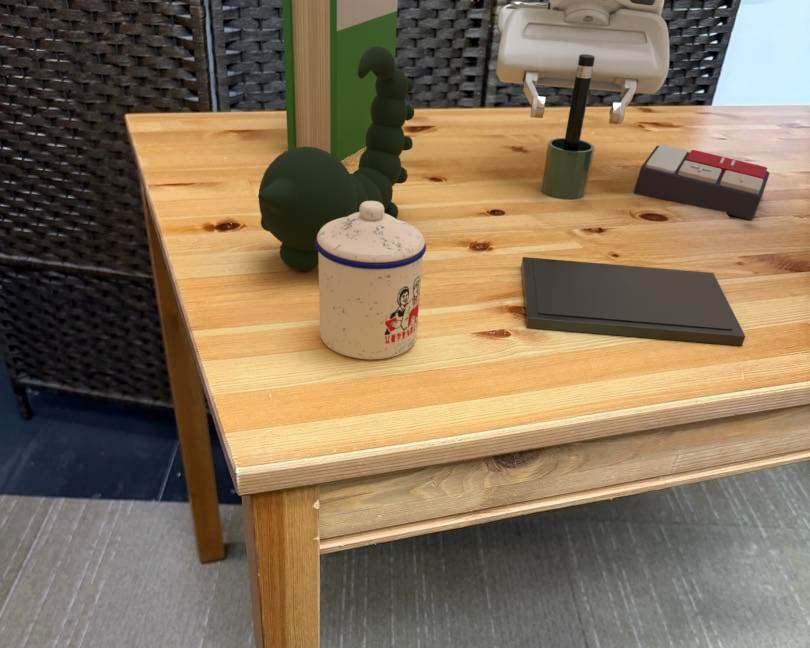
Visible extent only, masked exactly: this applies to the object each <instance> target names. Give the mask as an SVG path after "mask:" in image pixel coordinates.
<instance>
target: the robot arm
mask: <svg viewBox="0 0 810 648" xmlns="http://www.w3.org/2000/svg"><path fill="white" fill-rule="evenodd" d="M664 5H665V0H549V1H548V2H539V1H535V2H527V1H523V0H514V1H511V3H510V4H506V5H504V6H502V8H500V10H499V12H498V15H497V23H496V24H497V25H496V28H497V32H498V34H499V36H500V41H499V47H498V53H497V60H496V66H495V67H496V68H495V75H496V76H497V78H498V79H499V81H500V82H501V83H504V84H505V83H506V84H517V85H519V84H520V85H523V93H524V95H525V98H526V99H527V101H528V103H529V105H530V116H529V117H530V118H534V119H536V118H537V119H543V118H544V115H545V111H546V110H545V109H546V106H545V105H546V98H547V96H540V94H539V92H538V91H537V89H536V87H537V86H545V87H557V88H568V89H574V83H575V77H576V71H577V65H578V60H579V55H582V54H588V55H593V56H595V61H594V67H593V72H592V77H591V82H590V88H589V90H596V91H606V92H620V93H619V94H620V99H621V100H620V102H615V101H614V102H612V104H611V107H610V110H609V119H608V124H611V125H622V124H623V122H624V119H625V115H626V108H627V107H628V105H629V103H631V101H632V100H633V98H634V95H635V94H644V95H645V94H646V95H654V94H656V93H657V92H658V91H659V90H660V89H661V88H662V87H663V85H664V83H665V82H666V79H667V77H668V75H669V69H670V36H669V29H668V25H667V22H666V20H665V19H664V18H663V17H662V13H663V9H664Z"/></svg>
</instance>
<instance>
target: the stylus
mask: <svg viewBox="0 0 810 648" xmlns="http://www.w3.org/2000/svg"><path fill="white" fill-rule="evenodd" d="M594 61H595V56H593V55H588V54H582V55H579V60H578V65H577V71H576V77H575V83H574V88H572V89H573V90H572V94H571V102H570V107H569V113H568V118H567V124H566V129H565V135H564V138H565V141H564V146H563V150H568V151H578V147H579V141H580V140H581V135H582V130H583V124H584V119H585V115H586V114H585V113H586V109H587V103H588V97H589V93H590V89H589V88H590V82H591V77H592V72H593V67H594Z"/></svg>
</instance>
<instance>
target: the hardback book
mask: <svg viewBox="0 0 810 648" xmlns="http://www.w3.org/2000/svg"><path fill="white" fill-rule="evenodd" d="M398 2H399V1H398V0H282V1H281V3H282V6H281V7H282V28H283V30H282V31H283V56H284V57H283V60H284V81H285V82H284V85H285V106H286V107H285V109H286V111H285V113H286V135H287V136H286V139H287V141H286V142H287V150H290V149H292V148H296V147H304V146H306V147H314V148H318V149H321V150H323V151H326V152H328V153H330V154H331V155H333V156H334V157H335V158H337V159H338V160H339V161H340V162H342V160H344V159H346V158H347V157H349V156H351V155H352V154H354V153H356V152H358V151H360V150H361V149H363V148H365V147H366V139H365V136H366V133H367V130H368V128H369V126H370V125H371V124H372V123H373V121H372V119H371V111H370V108H371V104H372V101H373V99H374V98H375V97H376V95H377V93H376V89H375V83H376V79H377V77H376V76H375V75H374V73H373V72H372V71H370V72H369V73H368V74H367V75H366V76H365V77H364V78H359V76H358V67H359V63H360V59H361V57H362V55H363V54H364V52H365V51H366V50H368V49H369V48H371V47H376V46H381V47H383V48H385V49H387V50H388V51H389V52H390V53H391V54H392V56H393V57H394V60H395V61H396V54H397V53H396V49H397V29H398V28H397V27H398V26H397V25H398V5H399V4H398Z"/></svg>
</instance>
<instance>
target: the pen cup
mask: <svg viewBox="0 0 810 648" xmlns="http://www.w3.org/2000/svg"><path fill="white" fill-rule="evenodd" d="M564 141H565V137H557V138H551V139H550V140H548V142H547V146H546V152H545V157H544V165H543V169H542V170H543V171H542V176H541V177H542V178H541V182H540V183H541V184H540V191H541V193H543V194H544V195H545V196H548V197H550V198H554V199H558V200H565V201H566V200H569V201H571V200H580V199H582V198H584V197H585V196H586V194H587V189H588V184H589V177H590V174H591V168H592V164H593V159H594V153H595V149H596V148H595V145H594V144H592V143H591V142H589V141H586V140H584V139H580V141H579V147H578V151H568V150H563V146H564Z"/></svg>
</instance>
